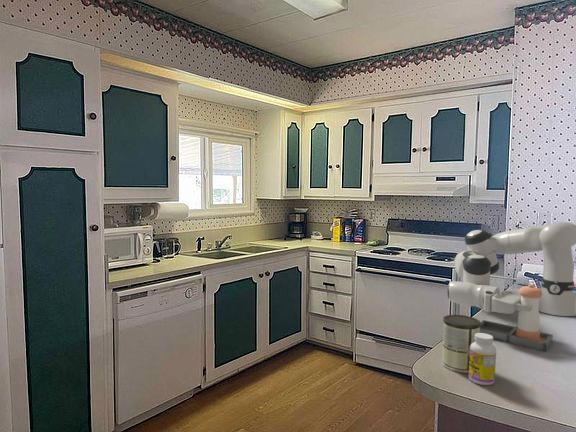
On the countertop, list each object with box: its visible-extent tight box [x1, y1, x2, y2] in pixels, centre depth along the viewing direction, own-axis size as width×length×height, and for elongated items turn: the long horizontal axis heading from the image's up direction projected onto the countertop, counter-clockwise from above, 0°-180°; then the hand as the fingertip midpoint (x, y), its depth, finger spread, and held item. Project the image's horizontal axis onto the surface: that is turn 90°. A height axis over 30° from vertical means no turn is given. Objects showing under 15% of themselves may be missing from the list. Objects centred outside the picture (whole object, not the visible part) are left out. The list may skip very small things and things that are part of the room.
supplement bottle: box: [467, 333, 497, 386], centre depth 118 cm, size 7×7×13 cm
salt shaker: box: [515, 284, 542, 341], centre depth 149 cm, size 7×7×19 cm
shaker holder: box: [480, 319, 554, 352], centre depth 153 cm, size 12×23×2 cm, turn 50°
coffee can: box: [441, 314, 482, 374], centre depth 128 cm, size 10×10×14 cm
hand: (534, 305), depth 148 cm, fingers open, 8 cm apart
